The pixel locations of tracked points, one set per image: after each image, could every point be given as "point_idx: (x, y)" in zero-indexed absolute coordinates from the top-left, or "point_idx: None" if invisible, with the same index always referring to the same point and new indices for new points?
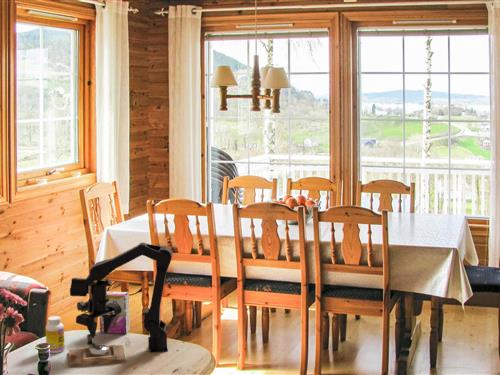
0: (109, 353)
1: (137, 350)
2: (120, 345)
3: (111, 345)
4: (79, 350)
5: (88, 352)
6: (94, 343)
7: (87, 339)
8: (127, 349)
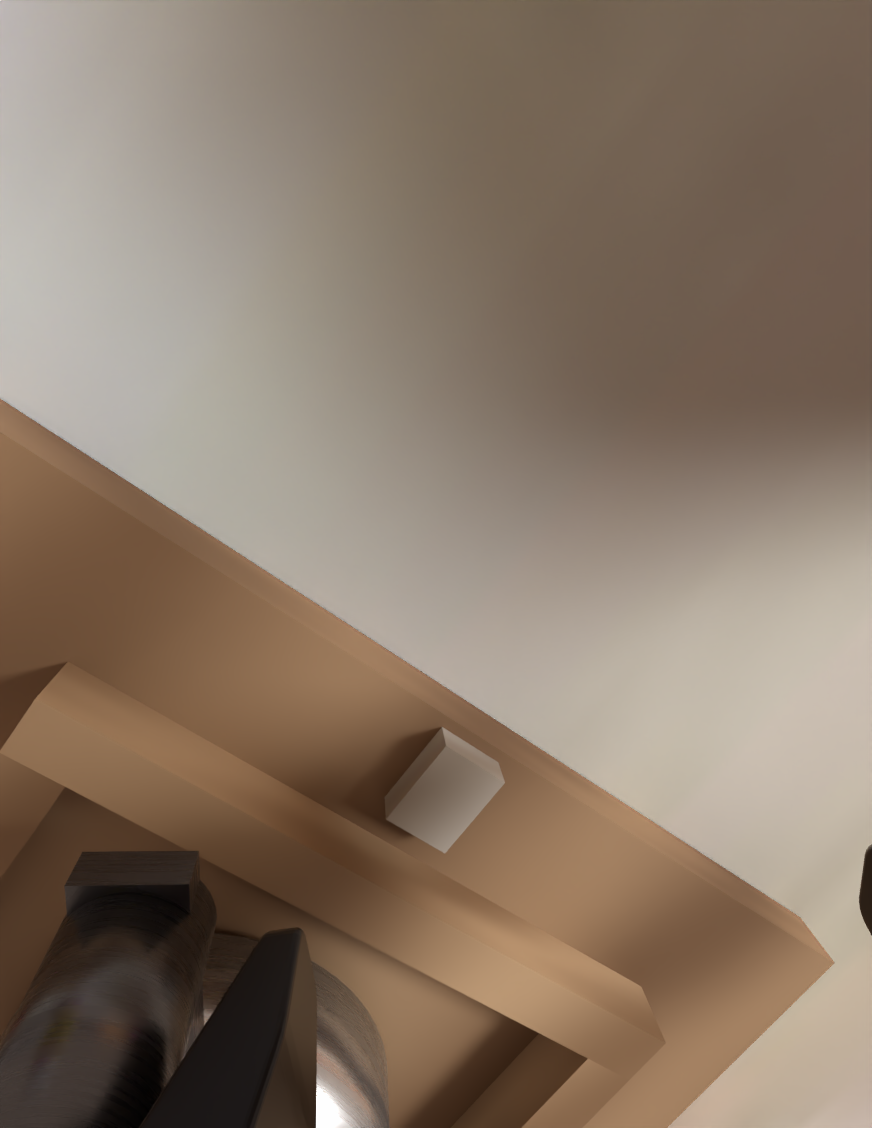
0: None
1: (833, 1119)
2: (792, 952)
3: (598, 1019)
4: (11, 587)
5: (104, 837)
6: None
7: (1, 1042)
8: None
